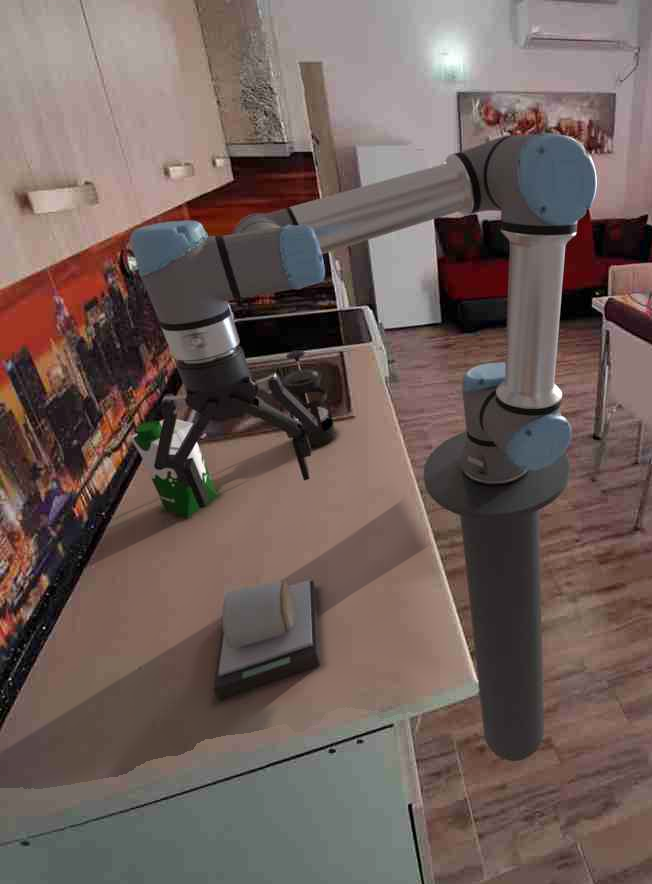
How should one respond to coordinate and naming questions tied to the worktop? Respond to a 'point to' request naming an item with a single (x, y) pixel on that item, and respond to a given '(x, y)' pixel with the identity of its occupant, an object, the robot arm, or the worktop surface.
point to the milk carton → (166, 478)
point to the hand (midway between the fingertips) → (256, 488)
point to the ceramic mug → (257, 613)
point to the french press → (299, 386)
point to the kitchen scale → (273, 650)
